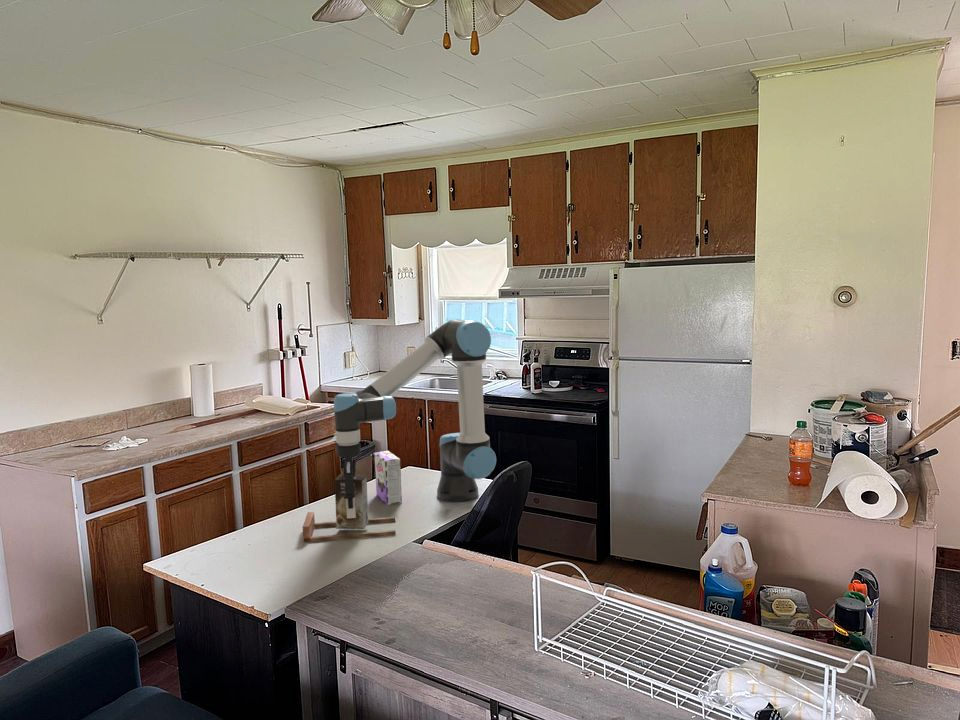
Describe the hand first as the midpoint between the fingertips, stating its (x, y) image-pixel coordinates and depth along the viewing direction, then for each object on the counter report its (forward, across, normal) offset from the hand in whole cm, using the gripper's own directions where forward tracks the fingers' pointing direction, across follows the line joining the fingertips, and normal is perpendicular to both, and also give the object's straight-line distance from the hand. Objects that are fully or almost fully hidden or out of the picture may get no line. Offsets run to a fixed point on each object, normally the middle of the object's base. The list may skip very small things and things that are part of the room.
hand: (352, 513), depth 214 cm
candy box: (+6, -30, +12) cm, 33 cm away
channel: (+6, 0, -1) cm, 6 cm away
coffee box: (+4, 0, 0) cm, 4 cm away
